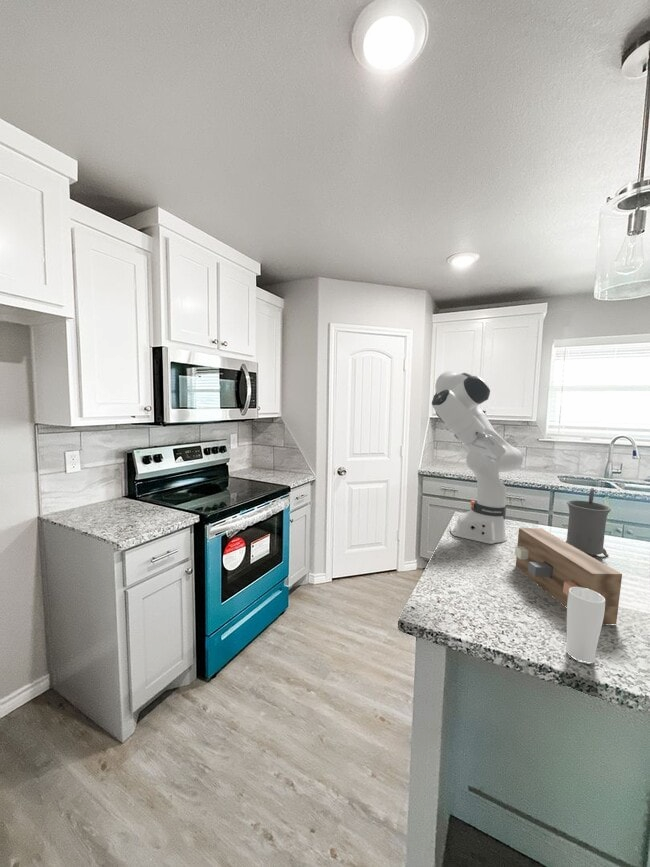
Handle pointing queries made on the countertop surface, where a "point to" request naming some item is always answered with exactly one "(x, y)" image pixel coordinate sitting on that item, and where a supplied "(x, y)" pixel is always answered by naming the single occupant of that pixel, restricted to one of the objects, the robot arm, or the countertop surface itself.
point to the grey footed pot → (587, 525)
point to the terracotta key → (569, 586)
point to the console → (569, 569)
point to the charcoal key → (540, 569)
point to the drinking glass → (584, 622)
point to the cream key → (521, 552)
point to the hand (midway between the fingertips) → (496, 461)
